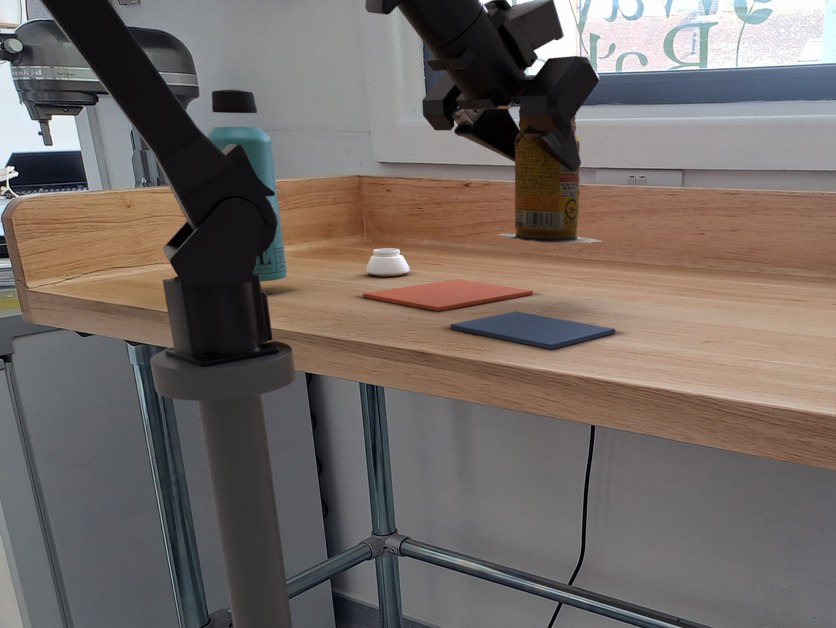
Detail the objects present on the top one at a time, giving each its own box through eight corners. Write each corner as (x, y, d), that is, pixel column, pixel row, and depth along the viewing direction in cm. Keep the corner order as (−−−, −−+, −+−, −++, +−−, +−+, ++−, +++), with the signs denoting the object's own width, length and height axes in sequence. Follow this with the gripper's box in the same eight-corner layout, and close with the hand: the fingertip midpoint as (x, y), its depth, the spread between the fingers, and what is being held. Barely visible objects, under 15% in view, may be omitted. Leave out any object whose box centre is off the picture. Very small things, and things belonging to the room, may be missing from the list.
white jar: (362, 277, 101) (404, 277, 101) (360, 252, 100) (402, 252, 100) (373, 271, 106) (413, 271, 106) (371, 247, 105) (411, 247, 105)
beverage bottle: (277, 284, 96) (253, 92, 89) (299, 292, 91) (276, 89, 84) (217, 290, 92) (187, 89, 85) (237, 299, 87) (207, 87, 80)
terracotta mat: (438, 311, 82) (437, 307, 82) (362, 297, 89) (362, 293, 89) (532, 294, 91) (532, 290, 91) (458, 282, 98) (457, 279, 98)
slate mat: (551, 349, 67) (551, 344, 67) (450, 328, 74) (450, 324, 74) (615, 333, 73) (615, 328, 73) (515, 315, 80) (515, 311, 80)
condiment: (563, 234, 87) (564, 107, 83) (603, 243, 80) (607, 105, 76) (496, 236, 83) (494, 104, 79) (532, 245, 76) (532, 101, 72)
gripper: (584, -60, 65) (672, 103, 76) (443, -30, 78) (536, 106, 89) (505, 43, 63) (607, 196, 74) (373, 58, 75) (477, 186, 86)
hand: (555, 166), depth 81 cm, fingers closed on condiment, 6 cm apart
